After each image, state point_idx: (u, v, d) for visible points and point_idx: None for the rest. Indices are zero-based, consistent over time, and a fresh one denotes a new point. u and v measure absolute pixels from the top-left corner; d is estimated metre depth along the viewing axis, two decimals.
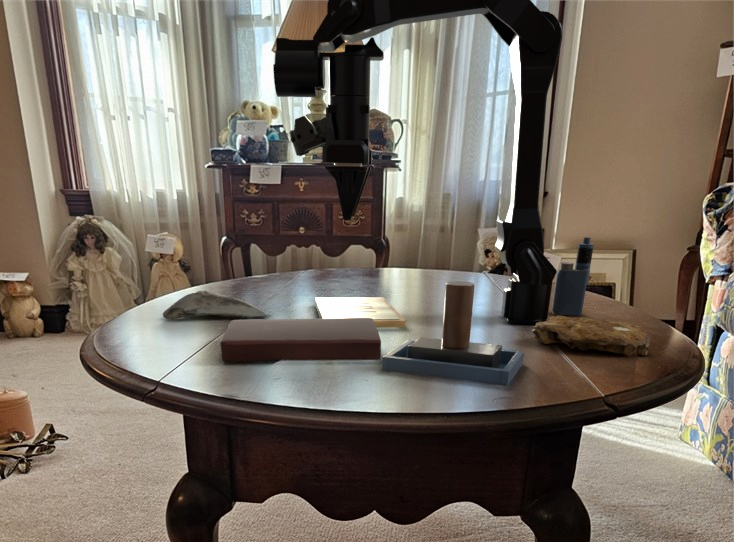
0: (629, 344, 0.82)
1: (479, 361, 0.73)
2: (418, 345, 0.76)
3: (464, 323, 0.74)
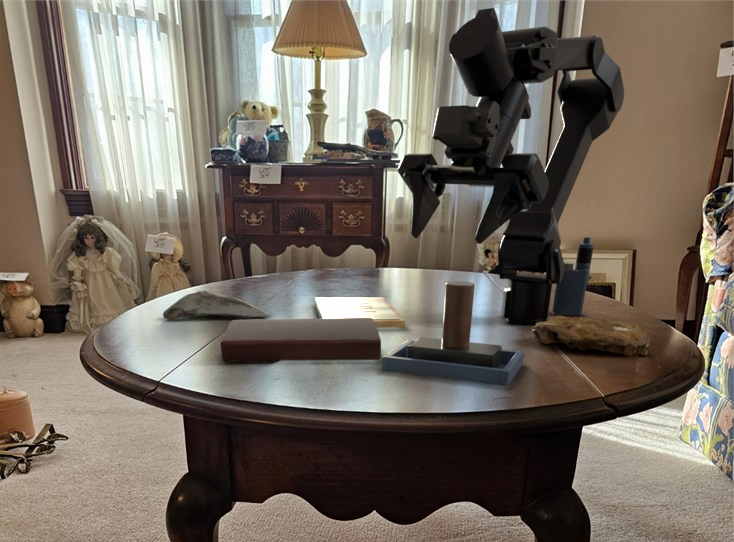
0: (629, 344, 0.82)
1: (479, 361, 0.73)
2: (418, 345, 0.76)
3: (464, 323, 0.74)
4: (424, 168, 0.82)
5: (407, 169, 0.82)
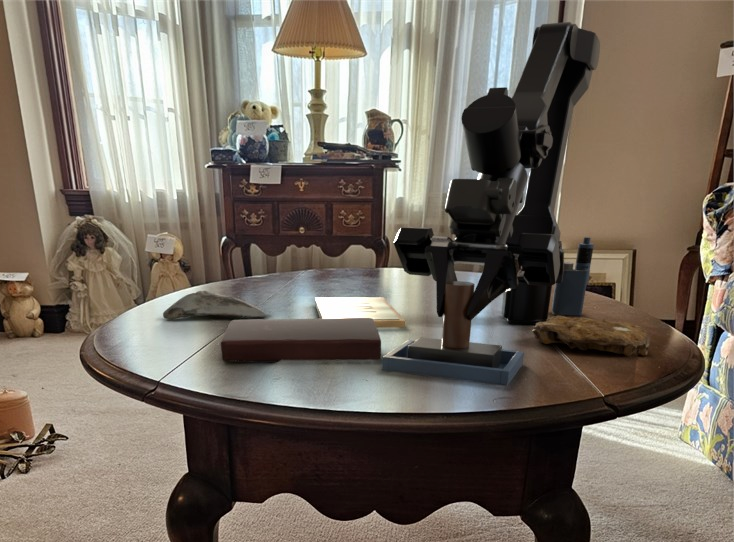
0: (629, 344, 0.82)
1: (479, 361, 0.73)
2: (418, 345, 0.76)
3: (464, 323, 0.74)
4: (448, 243, 0.75)
5: (406, 242, 0.76)
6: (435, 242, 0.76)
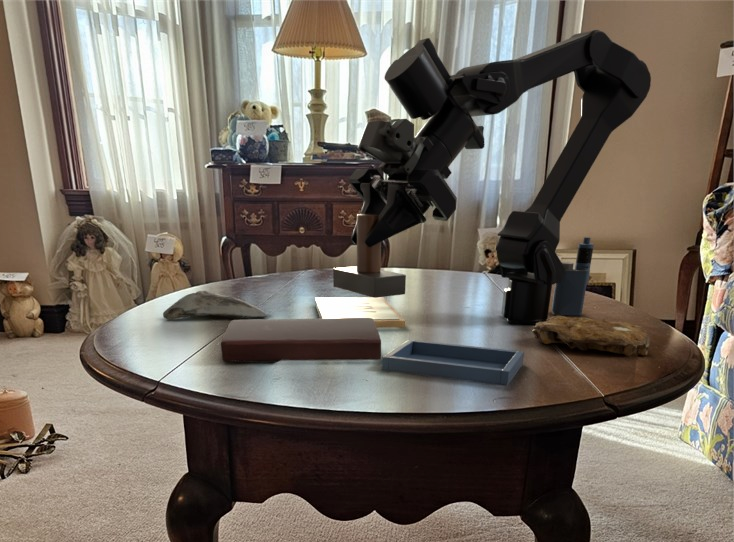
0: (629, 344, 0.82)
1: (368, 283, 0.84)
2: (341, 269, 0.90)
3: (366, 250, 0.85)
4: (377, 181, 0.86)
5: (353, 181, 0.89)
6: (372, 181, 0.87)
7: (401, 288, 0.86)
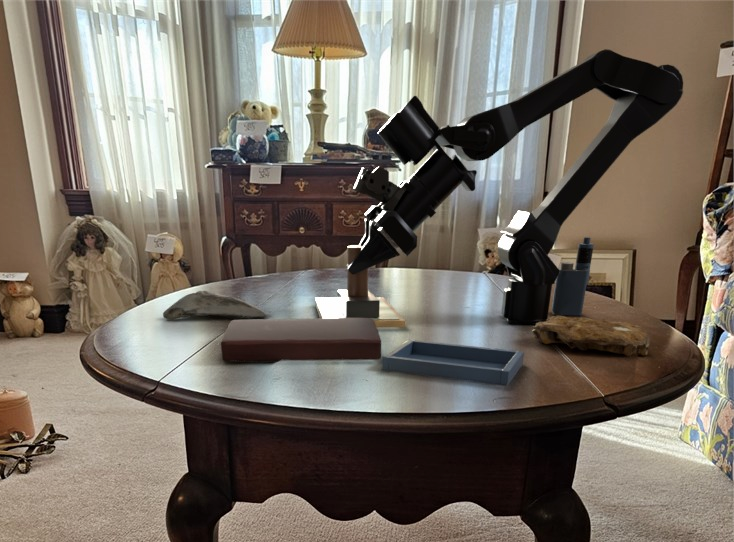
0: (629, 344, 0.82)
1: (344, 305, 0.97)
2: (343, 291, 1.04)
3: (351, 276, 0.98)
4: (376, 218, 0.98)
5: (366, 216, 1.02)
6: (375, 217, 1.00)
7: (374, 312, 0.97)
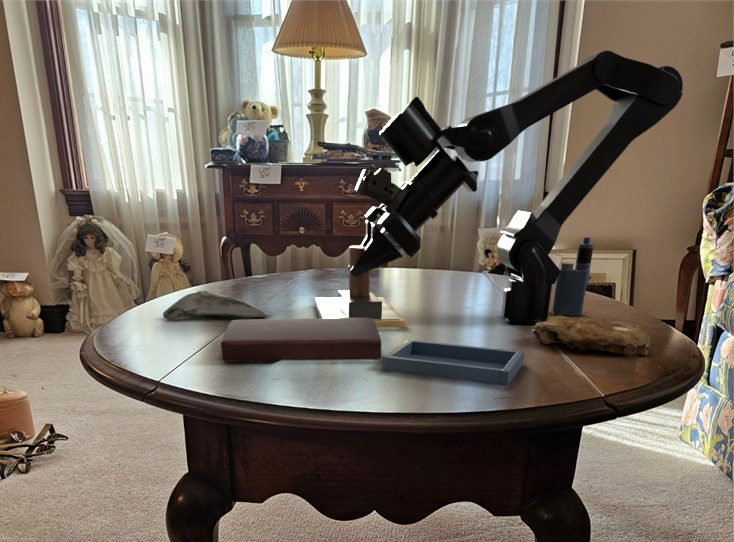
0: (629, 344, 0.82)
1: (347, 306, 0.97)
2: (344, 291, 1.03)
3: (353, 277, 0.97)
4: (377, 219, 0.98)
5: (366, 217, 1.02)
6: (376, 218, 0.99)
7: (377, 313, 0.97)
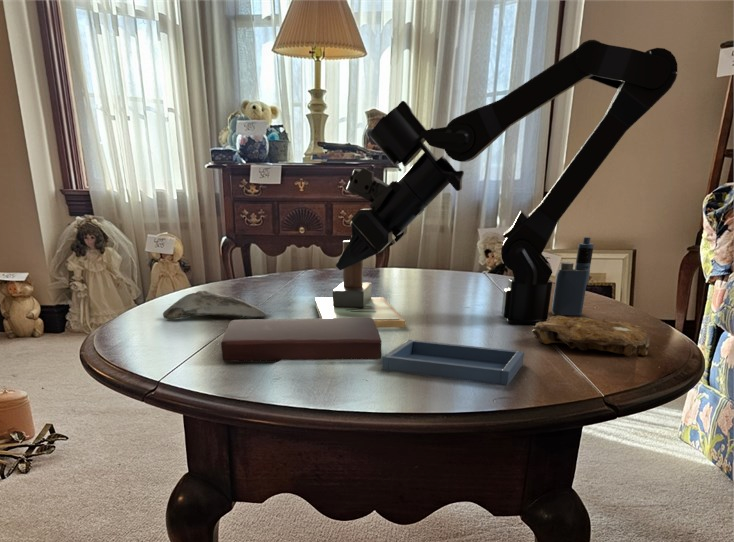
0: (629, 344, 0.82)
1: None
2: None
3: None
4: None
5: None
6: None
7: (359, 302, 1.04)
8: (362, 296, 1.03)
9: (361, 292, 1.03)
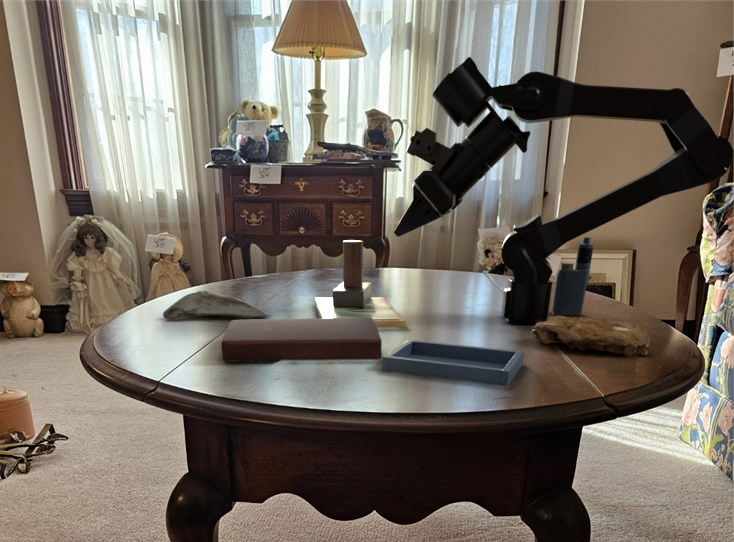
0: (629, 344, 0.82)
1: None
2: None
3: (344, 268, 1.06)
4: None
5: None
6: None
7: (359, 302, 1.04)
8: (362, 296, 1.03)
9: (361, 292, 1.03)
